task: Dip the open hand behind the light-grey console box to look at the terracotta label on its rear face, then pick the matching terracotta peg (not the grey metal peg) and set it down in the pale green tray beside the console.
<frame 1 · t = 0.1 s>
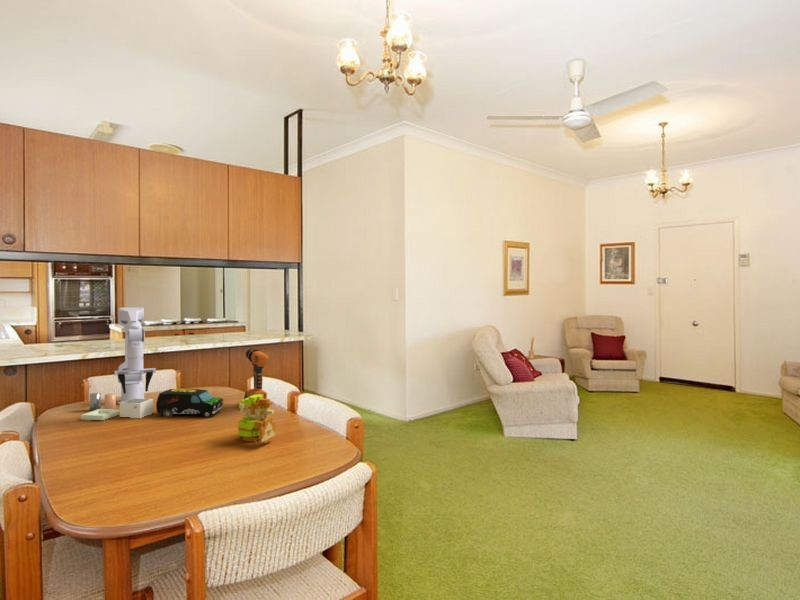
hand: (135, 392, 188), 10 cm above the table, tool pointing down, fingers open, 7 cm apart
toy van: (190, 414, 196), on the table
tray: (100, 417, 189), on the table
terracotta peg: (110, 410, 199), on the table
console box: (136, 415, 192), on the table
grey peg: (95, 410, 200), on the table
power drill: (254, 404, 214), on the table
toy: (255, 439, 164), on the table
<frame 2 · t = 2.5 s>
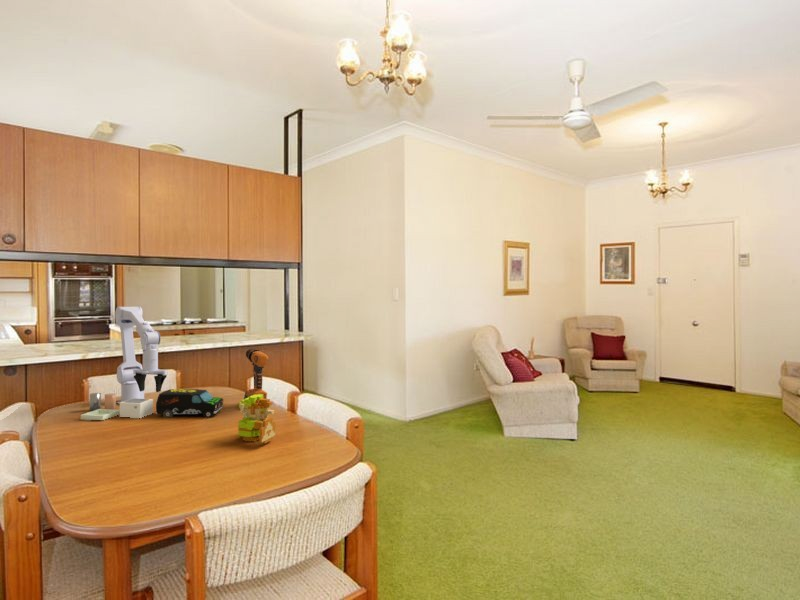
hand: (150, 391, 200), 8 cm above the table, tool pointing down, fingers open, 7 cm apart
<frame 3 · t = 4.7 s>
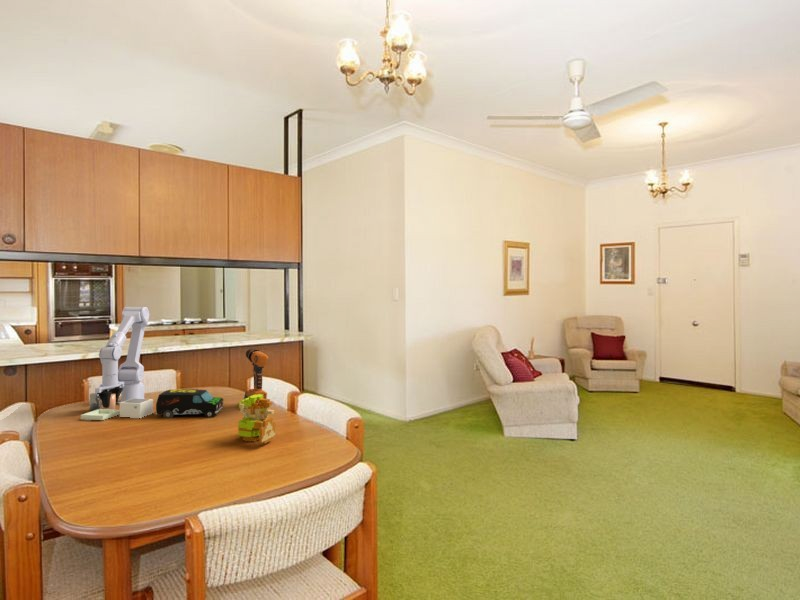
hand: (110, 406, 199), 2 cm above the table, tool pointing down, fingers closed on terracotta peg, 4 cm apart
terracotta peg: (110, 410, 199), on the table, touching gripper
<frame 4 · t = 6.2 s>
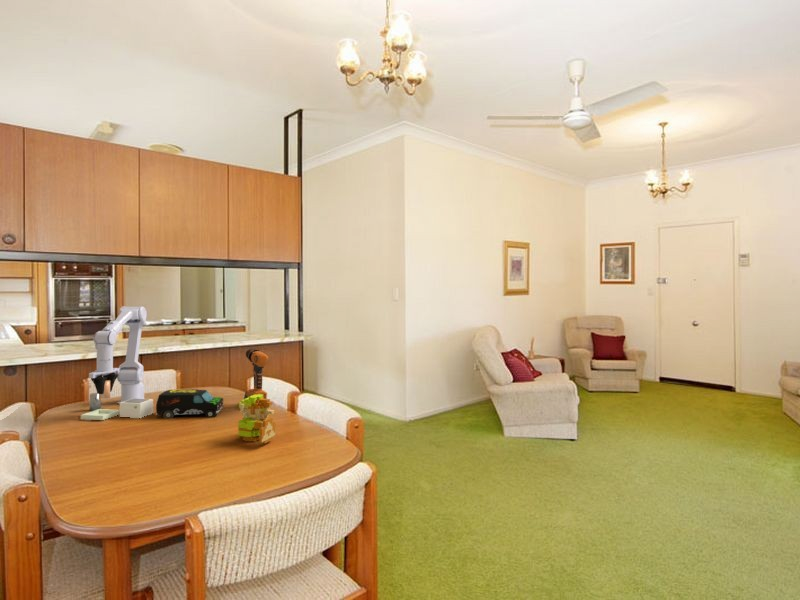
hand: (104, 392, 193), 9 cm above the table, tool pointing down, fingers closed on terracotta peg, 4 cm apart
terracotta peg: (104, 397, 193), point 7 cm above the table, touching gripper
when the fingers open (4 cm above the table, at t = 7.8 s): terracotta peg drops 1 cm, resting on tray.
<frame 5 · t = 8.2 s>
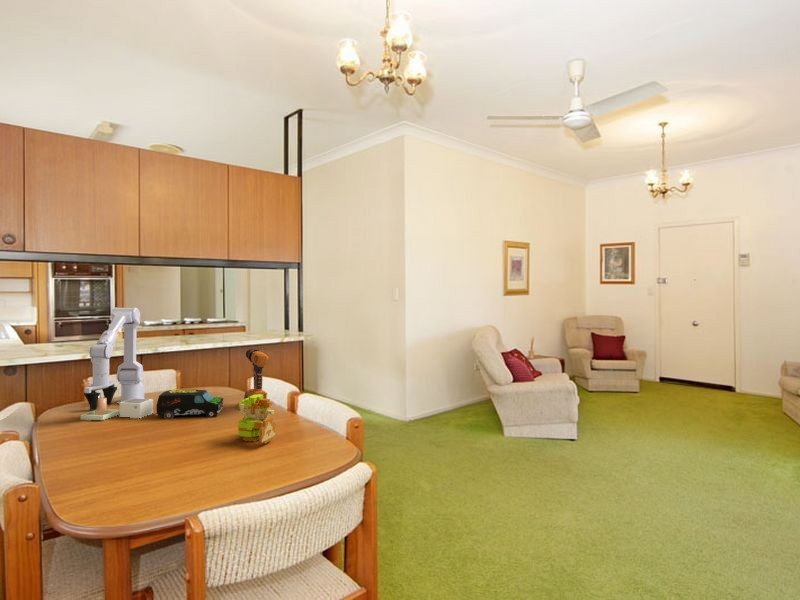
hand: (100, 407, 189), 4 cm above the table, tool pointing down, fingers open, 7 cm apart
terracotta peg: (100, 415, 189), point 1 cm above the table, touching tray
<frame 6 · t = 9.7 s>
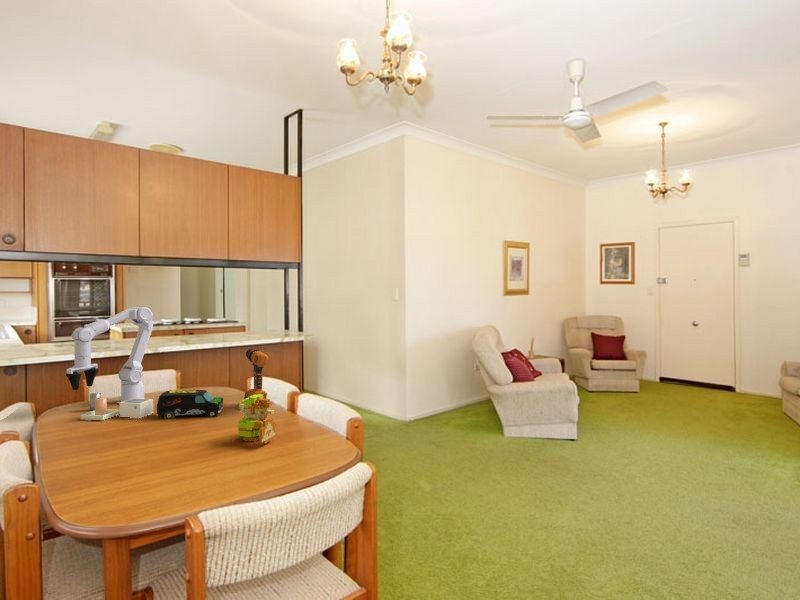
hand: (82, 387, 197), 10 cm above the table, tool pointing down, fingers open, 7 cm apart
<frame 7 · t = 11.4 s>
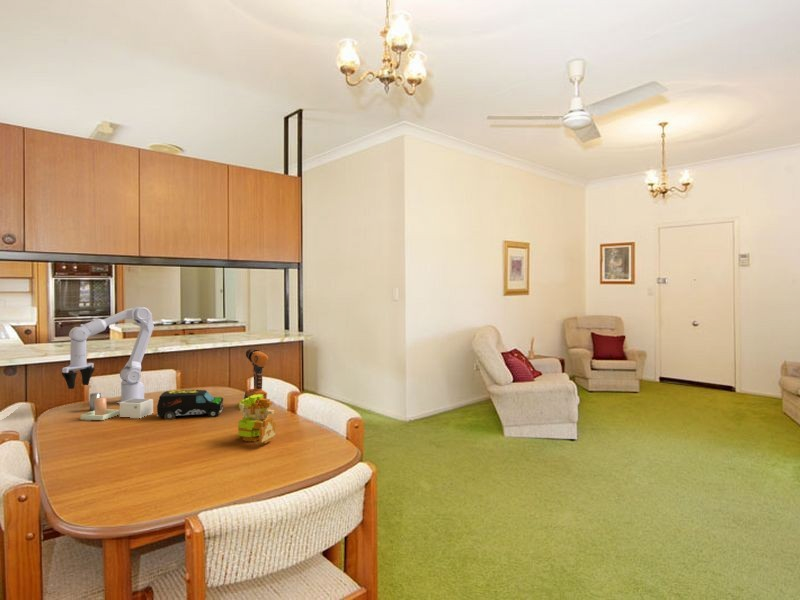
hand: (78, 386, 200), 10 cm above the table, tool pointing down, fingers open, 7 cm apart
at the end: terracotta peg inside the target area on the tray (0.1 cm from its centre), point 0.6 cm above the tray's base; terracotta peg tilted 1°; grey peg moved 0.0 cm from its start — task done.
